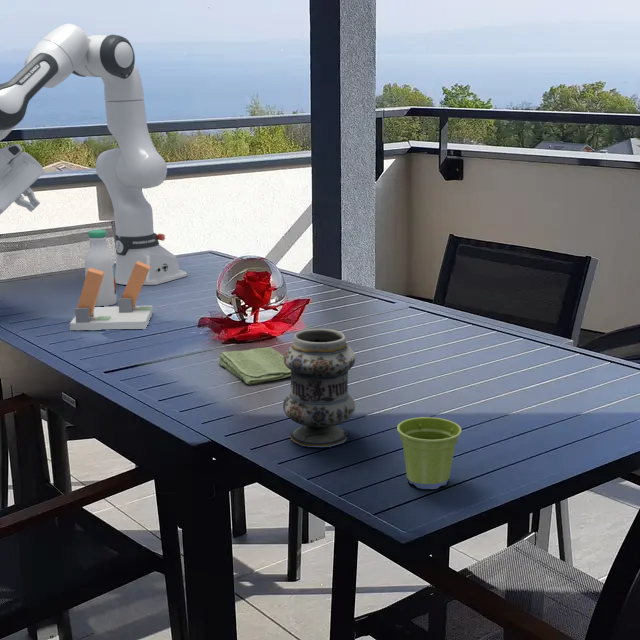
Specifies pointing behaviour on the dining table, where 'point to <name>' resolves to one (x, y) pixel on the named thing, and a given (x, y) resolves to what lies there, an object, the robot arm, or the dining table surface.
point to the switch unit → (113, 317)
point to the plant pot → (428, 448)
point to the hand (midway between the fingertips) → (35, 207)
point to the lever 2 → (136, 281)
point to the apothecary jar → (319, 386)
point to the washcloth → (255, 365)
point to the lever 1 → (91, 289)
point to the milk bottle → (102, 267)
